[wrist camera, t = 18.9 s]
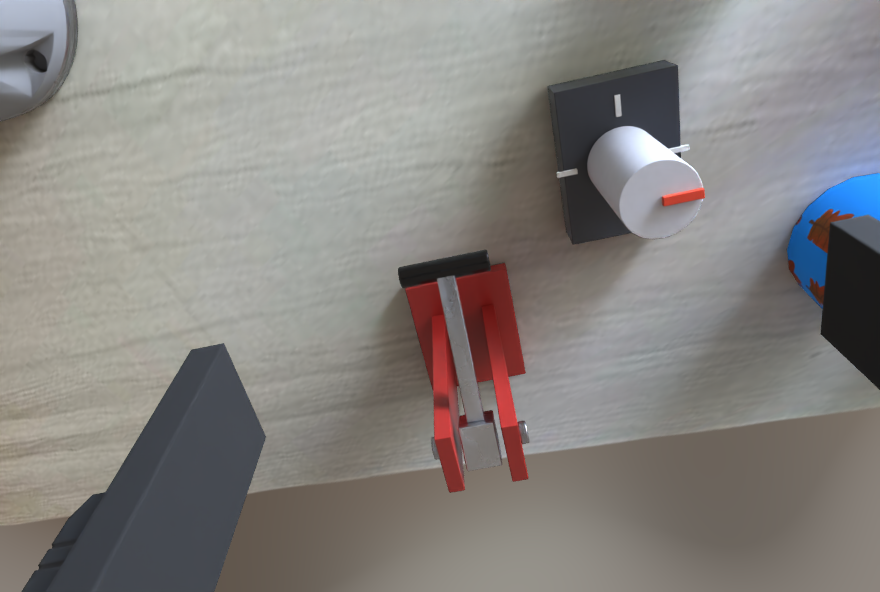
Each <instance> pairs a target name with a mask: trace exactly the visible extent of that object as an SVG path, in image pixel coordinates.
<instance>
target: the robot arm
mask: <svg viewBox="0 0 880 592" xmlns="http://www.w3.org/2000/svg"><path fill="white" fill-rule="evenodd" d="M77 37H78V21H77V12H76V5H75V1H74V0H0V121H5V120H8V119H11V118H14V117H17V116H20V115H22V114H25V113H27V112H30V111H32V110H34V109H36V108H37V107H39V106H41V105H42V104H44V103H45V102H46V101H48V100H49V99H50V98H51V97H52V96H53V95H54V94H55V93H56V92H57V91H58V90H59V88H60V87H61V86H62V84H63V83H64V81H65V79H66V78H67V76H68V74H69V71H70V69H71V67H72V64H73V60H74V57H75V53H76V47H77ZM821 335H822V336H823V337H824V338H825V339H826V340H827V341H829V342H830V343H831V344H832V345H833V346H834V347H835V348H836V349H837V350H838V351H839V352H840V353H841V354H842V355H843V356H844V357H846V358H847V359H848V360H849V361H850V362H851V363H852V364H853V365H854V366H855V367H856V368H857V369H858V370H859V371H860V372H861V373H863V374H864V375H865V376H866V377H867V378H868V379H869V380H870V381H871V382H872V383H873V384H874V385H875V386H876V387H877V388H878V389H880V221H879V220H877V219H875V218H873V217H872V216H870V215H864V216H859V217H854V218H849V219H844V220H839V221H834V222H830V229H829V241H828V252H827V264H826V276H825V287H824V299H823V311H822V322H821ZM265 438H266V436H265V434H264V431H263V429H262V427H261V425H260V423H259V420H258V418H257V416H256V414H255V411H254V409H253V407H252V405H251V403H250V400H249V398H248V396H247V394H246V391H245V389H244V387H243V385H242V382H241V380H240V378H239V376H238V374H237V371H236V369H235V367H234V365H233V362H232V360H231V358H230V356H229V354H228V351H227V349H226V347H225V345H224V343H223V344H218V345H213V346H208V347H203V348H198V349H193V350H191V351H190V353H189V355H188V356H187V358H186V360H185V361H184V363H183V365H182V366H181V368H180V370H179V371H178V373H177V375H176V376H175V378H174V380H173V381H172V383H171V385H170V386H169V388H168V389H167V391H166V393H165V394H164V396H163V398H162V399H161V401H160V403H159V404H158V406H157V408H156V409H155V411H154V413H153V414H152V416H151V418H150V419H149V421H148V423H147V424H146V426H145V428H144V429H143V431H142V433H141V434H140V436H139V438H138V439H137V441H136V443H135V444H134V446H133V448H132V449H131V451H130V453H129V454H128V456H127V458H126V459H125V461H124V463H123V464H122V466H121V468H120V469H119V471H118V473H117V474H116V476H115V478H114V479H113V481H112V483H111V484H110V486H109V488H108V489H107V491H106V492H105V493H100V494H94V495H92V496H91V497H90V498H89V499H88V500H87V501H86V502H85V503H84V504H83V505H82V506H81V507H80V508H79V509H78V510H77V511H76V512H75V513H74V514H73V515H72V516H71V517H69V518H68V520H67V521H66V523H65V525H64V526H63V528H62V529H61V531H60V533H59V534H58V535H57V537H56V539H55V540H54V542H53V543H52V549H49V550H48V551H47V553H46V554H45V556H44V557H43V559H42V560H41V562H40V564H39V565H38V566H39V570H37V571H34V573H33V575H32V576H31V578H30V579H29V581H28V582H27V584H26V585H25V587H24V589H23V590H22V592H214V591H215V588H216V585H217V582H218V579H219V576H220V573H221V570H222V567H223V564H224V561H225V558H226V555H227V552H228V549H229V546H230V543H231V540H232V537H233V534H234V531H235V528H236V525H237V522H238V519H239V516H240V513H241V510H242V507H243V504H244V501H245V498H246V495H247V492H248V489H249V486H250V483H251V480H252V477H253V474H254V471H255V468H256V465H257V462H258V459H259V456H260V453H261V450H262V447H263V444H264V441H265Z"/></svg>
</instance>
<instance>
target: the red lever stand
mask: <svg viewBox="0 0 880 592" xmlns="http://www.w3.org/2000/svg"><path fill="white" fill-rule="evenodd" d="M490 267H491V271H488V272H483V273H478V274H473V275H468V276H463V277H458V278H456V281H457V286H458V290H459V295H460V300H461V305H462V310H463V315H464V319H465V324H466V329H467V334H468V339H469V344H470V348H471V353H472V358H473V363H474V368H475V373H476V377H477V382H483V381H489V380H493V382H494V388H495V394H496V400H497V406H498V413H499V419H500V425H501V430H502V435H503V439H504V444H505V449H506V453H507V458H508V462H509V467H510V471H511V476H512V481H520V480H526V479H528V473H527V468H526V464H525V458H524V453H523V448H522V444H526V443H529V437H528V432H527V427H526V422H525V421H518V422H517V418H516V413H515V408H514V403H513V398H512V393H511V388H510V383H509V378H508V377H510V376H515V375H521V374H525V373H526V372H525V367H524V361H523V356H522V350H521V345H520V339H519V334H518V329H517V323H516V318H515V312H514V307H513V301H512V296H511V290H510V285H509V279H508V274H507V269H506V265H505V263H502V264H497V265H492V266H490ZM405 291H406V294H407V298H408V302H409V305H410V309H411V313H412V316H413V320H414V324H415V327H416V331H417V335H418V338H419V342H420V345H421V349H422V353H423V356H424V360H425V364H426V367H427V371H428V375H429V378H430V382H431V386H432V389H433V397H434V437H432V439H431V444H432V450H433V455H434V458H435V459H440V462H441V465H442V469H443V472H444V476H445V479H446V482H447V486H448V490H449V492H450V493H451V492H457V491H462V490H465V485H464V471H463V458H462V445H461V440H460V435H459V430H458V427H459V405H458V392H457V386H459V382H458V378H457V373H456V368H455V363H454V359H453V354H452V349H451V344H450V340H449V335H448V330H447V325H446V321H445V316H444V311H443V306H442V302H441V297H440V292H439V288H438V283H437V282H433V283H428V284H424V285H419V286H414V287H409V288H405Z"/></svg>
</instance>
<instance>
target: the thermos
mask: <svg viewBox="0 0 880 592" xmlns="http://www.w3.org/2000/svg"><path fill="white" fill-rule="evenodd" d="M864 215H870V216H872V217H873V218H875V219H877V220H879V221H880V173H877V174H870V175H864V176H858V177H853V178H851V179H848V180H846V181H844V182H842V183H840V184H838V185H836V186H834V187H832V188H830V189H828V190H827V191H826V192H824V193H823V194H822V195H821V196H820V197H819V198H817V199H816V200H815V201H814V202H813V203H811V204H810V205H809V206H808V207H807V209H806V210H805V211H804V213H803V214H802V216H801V217H800V219H799V220H798V222H797V223H796V225H795V226H794V228H793V231H792V234H791V238H790V241H789V244H788V248H787V254H788V264H789V270H790V272H791V273H792V275H793V276H794V278H795V280H796V281H797V283H798V285H799V286H800V287H801V288H802V289H803V290H804V291H805V292H806V293H807V294H808V295H809V296H810V297H811V298H812V299H813V300H814V301H815V302H816V303H817V304H818V305H819V306H820V307H821V308H822V309H823V299H824V287H825V276H826V264H827V252H828V241H829V229H830V222H834V221H839V220H844V219H849V218H854V217H859V216H864Z"/></svg>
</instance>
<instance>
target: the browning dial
mask: <svg viewBox="0 0 880 592" xmlns="http://www.w3.org/2000/svg"><path fill="white" fill-rule="evenodd" d="M587 170H588V174H589V177H590V179H591V181H592V183H593V184H594V185H595V187H596V188H597V189H598V191H599V192H600V193H601V195H602V196H603V197H604V199H605V200H606V201H607V203H608V204H609V205H610V207H611V208H612V209H613V211H614V212H615V213H616V215H617V216H618V217H619V218H620V220H621V221H622V222H623V224H624V225H625V226H626V228H627V229H628V230H629V231H631V232H632V233H633V234H635V235H637V236H639V237H642V238H646V239H661V238H666V237H669V236H672V235H674V234H676V233H678V232H680V231H681V230H683V229H684V228H685V227H686V226H688V225H689V224H690V223H691V222H692V220H693V219H694V218H695V216H696V215H697V213H698V211H699V209H700V207H701V204H702V199H703V198H705V191H704V188H703V185H702V181H701V179H700V177H699V175H698V173H697V172H696V171H695V170H694V169H693V168H692V167H691V166H690V165H688V164H687V163H686V162H685V161H683V160H682V159H681V158H679V157H678V156H677V155H675V154H674V153H673V152H672V151H670V150H669V149H668V148H666V147H665V146H664V145H662V144H661V143H660V142H659V141H657V140H656V139H655V138H653V137H652V136H651V135H649V134H648V133H647V132H645V131H644V130H642V129H640V128H637V127H632V126H623V127H618V128H614V129H612V130H610V131H608V132H606V133H605V134H604V135H602V136H601V137H600V138H599V139H598V140H597V141H596V142H595V144H594V145H593V147H592V149H591V151H590V153H589V156H588V162H587Z"/></svg>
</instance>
